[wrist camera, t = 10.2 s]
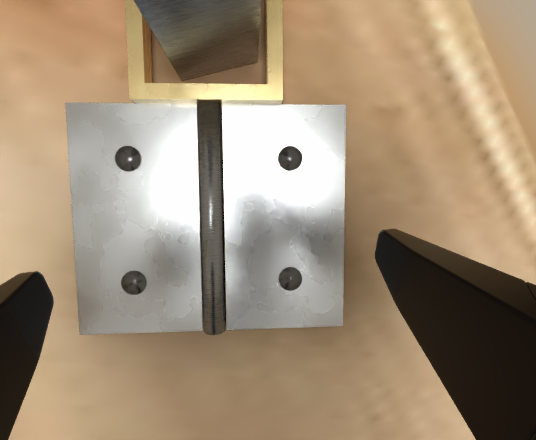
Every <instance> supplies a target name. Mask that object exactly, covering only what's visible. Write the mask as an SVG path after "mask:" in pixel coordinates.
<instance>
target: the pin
mask: <svg viewBox="0 0 536 440" xmlns="http://www.w3.org/2000/svg"><path fill="white" fill-rule="evenodd" d="M134 2H135V3H136V5H137V7H138V8H139V10H140V12H141V13H142V15H143V17H144V18H145V20H146V22H147V23H148V25H149V27H150V28H151V30H152V32H153V33H154V35H155V37H156V38H157V40H158V42H159V43H160V45H161V47H162V48H163V50H164V52H165V53H166V55H167V57H168V58H169V60H170V62H171V63H172V65H173V67H174V68H175V70H176V72H177V73H178V75H179V77H180V78H181V80H182V81H184V80H188V79H192V78H196V77H200V76H204V75H208V74H212V73H216V72H220V71H224V70H228V69H232V68H236V67H240V66H244V65H248V64H252V63H256V62H257V56H258V42H259V28H260V14H261V0H134Z"/></svg>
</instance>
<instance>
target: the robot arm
mask: <svg viewBox="0 0 536 440" xmlns="http://www.w3.org/2000/svg"><path fill="white" fill-rule="evenodd" d="M375 259H376V262H377V264H378V267H379V269H380V271H381V273H382V275H383V278H384V280H385V282H386V284H387V286H388V289H389V291H390V293H391V295H392V297H393V300H394V302H395V304H396V306H397V307H398V309H399V311H400V313H401V314H402V316H403V318H404V319H405V321H406V323H407V324H408V326H409V328H410V329H411V331H412V333H413V334H414V336H415V338H416V340H417V341H418V343H419V345H420V346H421V348H422V350H423V351H424V353H425V355H426V356H427V358H428V360H429V361H430V363H431V365H432V366H433V368H434V370H435V371H436V373H437V375H438V376H439V378H440V380H441V382H442V383H443V385H444V387H445V388H446V390H447V392H448V393H449V395H450V397H451V398H452V400H453V402H454V403H455V405H456V407H457V408H458V410H459V412H460V413H461V415H462V417H463V418H464V420H465V422H466V423H467V425H468V427H469V429H470V430H471V432H472V434H473V435H474V437H475V439H476V440H536V285H534V284H531V283H529V282H526V283H525V281H524V280H521V279H519V278H516V277H514V276H511V275H509V274H506V273H504V272H501V271H499V270H496V269H494V268H491V267H489V266H486V265H484V264H481V263H479V262H476V261H474V260H471V259H469V258H466V257H464V256H461V255H459V254H456V253H454V252H452V251H449V250H447V249H444V248H442V247H439V246H437V245H434V244H432V243H429V242H427V241H424V240H422V239H419V238H417V237H414V236H412V235H409V234H407V233H404V232H402V231H399V230H397V229H387V230H382V231H380V233H379V235H378V240H377V246H376V251H375ZM53 302H54V301H53V295H52V293H51V291H50V289H49V287H48V285H47V283H46V281H45V278H44V276H43V275H42V274H41V273H40V272H37V271H35V272H27V273H21V274H18V275H16V276H15V277H13V278H11V279H10V280H8V281H7V282H5V283H3V284H2V285H0V440H8V439H9V436H10V433H11V431H12V428H13V426H14V423H15V420H16V418H17V415H18V413H19V410H20V408H21V405H22V402H23V400H24V397H25V395H26V392H27V390H28V387H29V384H30V382H31V379H32V377H33V374H34V372H35V369H36V366H37V363H38V360H39V357H40V354H41V350H42V346H43V342H44V339H45V335H46V331H47V327H48V323H49V319H50V316H51V312H52V308H53Z"/></svg>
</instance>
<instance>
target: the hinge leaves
mask: <svg viewBox="0 0 536 440" xmlns="http://www.w3.org/2000/svg"><path fill="white" fill-rule="evenodd" d="M125 10H126V32H127V55H128V77H129V99H131V100H132V101H133V102H134V103H65V105H66V121H67V137H68V153H69V169H70V186H71V202H72V218H73V234H74V250H75V266H76V283H77V299H78V315H79V331H80V335H92V334H122V333H152V332H182V331H203V328H204V332H205V333H206V334H209V335H217V334H221V333H223V332H224V331H225V315H224V267H223V218H222V170H221V121H220V107H222V132H223V181H224V231H225V281H226V330H241V329H271V328H300V327H330V326H343V290H344V212H345V135H346V105H287V104H281V103H282V101H283V29H282V0H265V16H266V84H194V83H153V80H152V54H151V28H150V27H149V25H148V23H147V22H146V20H145V18H144V17H143V15H142V13H141V12H140V10H139V8H138V7H137V5H136V3H135V2H134V0H125ZM198 116H199V121H198ZM199 154H200V159H199ZM200 192H201V197H200ZM201 229H202V234H201ZM202 267H203V272H202ZM203 305H204V310H203Z"/></svg>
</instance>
